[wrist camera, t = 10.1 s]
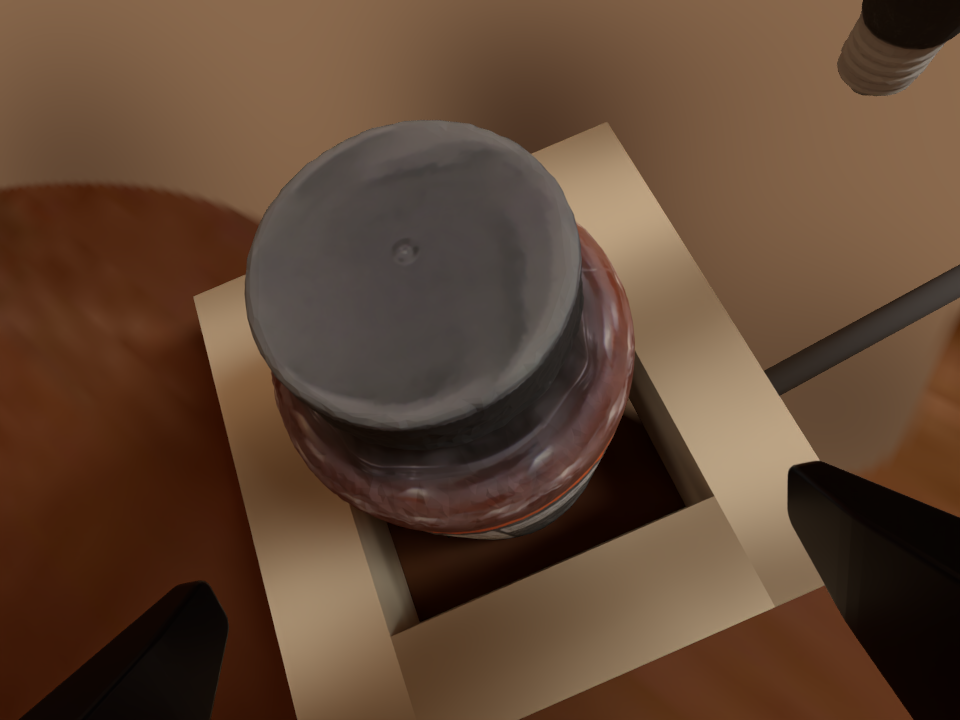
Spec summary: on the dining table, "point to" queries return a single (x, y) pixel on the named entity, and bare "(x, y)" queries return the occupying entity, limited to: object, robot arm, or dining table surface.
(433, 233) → the supplement bottle
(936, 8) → the light bulb
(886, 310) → the dark grey rod
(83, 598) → the dining table surface
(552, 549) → the dining table surface
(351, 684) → the cream square shallow tray
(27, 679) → the dining table surface
